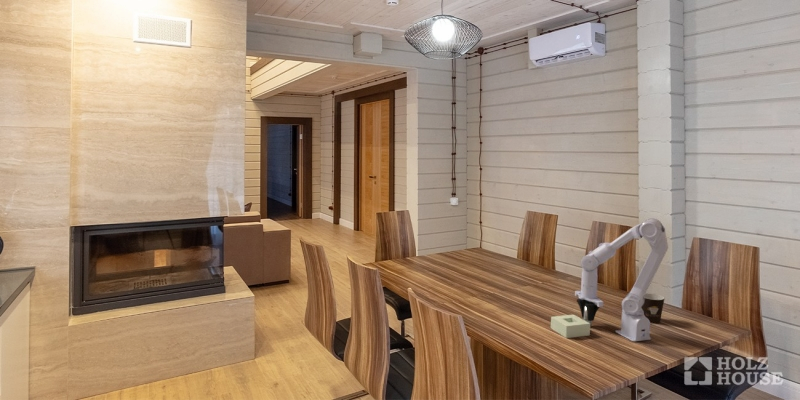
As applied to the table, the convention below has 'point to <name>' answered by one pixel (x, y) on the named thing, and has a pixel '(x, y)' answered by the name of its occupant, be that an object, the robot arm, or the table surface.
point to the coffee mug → (653, 307)
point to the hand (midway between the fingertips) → (587, 319)
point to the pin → (586, 316)
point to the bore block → (570, 326)
